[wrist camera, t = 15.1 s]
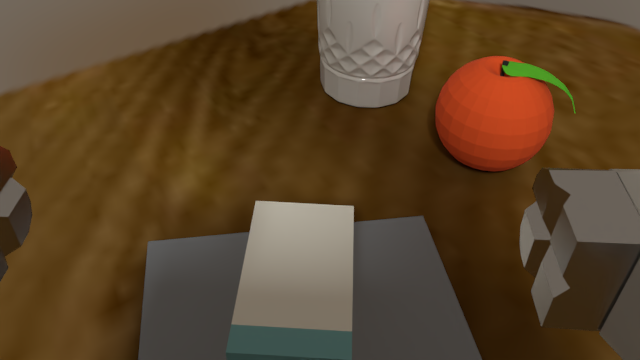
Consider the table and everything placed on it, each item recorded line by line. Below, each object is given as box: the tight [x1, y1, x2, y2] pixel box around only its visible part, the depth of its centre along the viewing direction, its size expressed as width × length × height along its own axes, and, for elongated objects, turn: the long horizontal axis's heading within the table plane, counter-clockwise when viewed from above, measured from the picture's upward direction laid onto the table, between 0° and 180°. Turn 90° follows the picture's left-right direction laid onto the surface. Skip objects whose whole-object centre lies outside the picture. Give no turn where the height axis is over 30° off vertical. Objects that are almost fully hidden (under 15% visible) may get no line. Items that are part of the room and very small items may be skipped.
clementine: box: [435, 56, 575, 171], centre depth 36 cm, size 8×7×7 cm
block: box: [226, 201, 354, 360], centre depth 26 cm, size 4×4×8 cm
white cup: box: [317, 0, 429, 108], centre depth 42 cm, size 8×8×10 cm
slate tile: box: [138, 216, 482, 360], centre depth 27 cm, size 15×14×1 cm
